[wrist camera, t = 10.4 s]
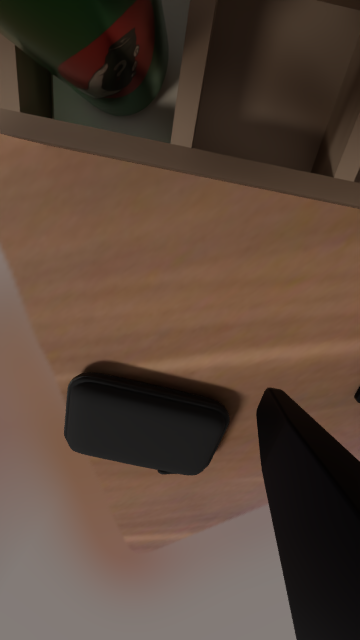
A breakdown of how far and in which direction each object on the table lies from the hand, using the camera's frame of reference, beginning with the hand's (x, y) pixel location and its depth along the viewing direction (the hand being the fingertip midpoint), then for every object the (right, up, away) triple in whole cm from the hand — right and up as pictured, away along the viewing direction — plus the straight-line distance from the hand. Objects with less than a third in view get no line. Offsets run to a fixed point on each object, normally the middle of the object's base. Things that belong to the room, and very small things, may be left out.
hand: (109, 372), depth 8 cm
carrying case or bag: (-1, -8, +20) cm, 21 cm away
